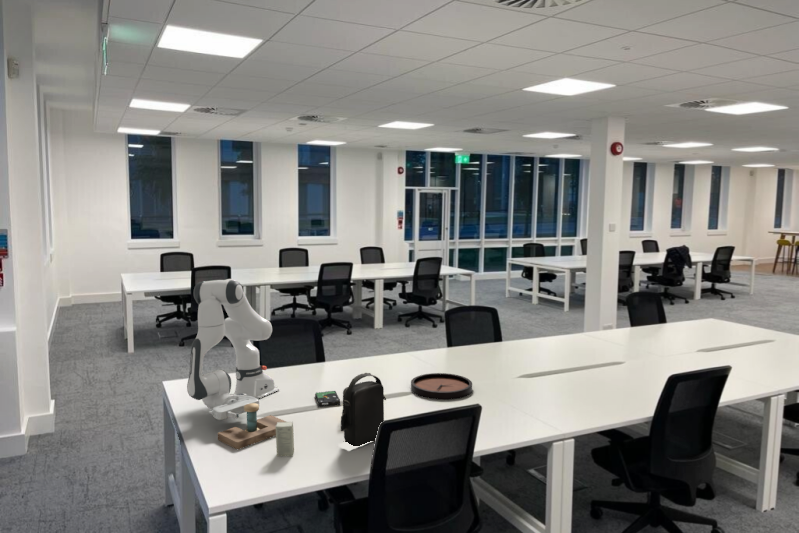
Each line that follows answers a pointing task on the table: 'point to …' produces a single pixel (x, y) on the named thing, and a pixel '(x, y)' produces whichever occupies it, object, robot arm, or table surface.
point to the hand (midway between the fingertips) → (246, 412)
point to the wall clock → (441, 386)
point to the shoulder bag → (362, 410)
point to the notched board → (242, 438)
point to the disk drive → (327, 398)
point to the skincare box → (284, 439)
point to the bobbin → (251, 417)
